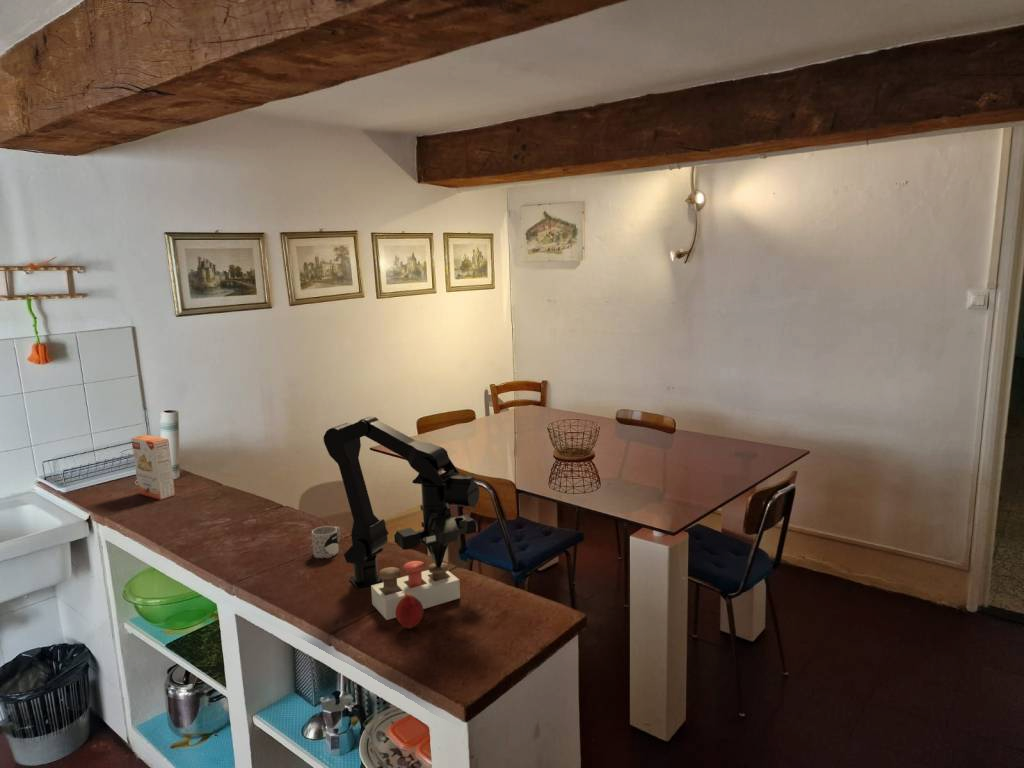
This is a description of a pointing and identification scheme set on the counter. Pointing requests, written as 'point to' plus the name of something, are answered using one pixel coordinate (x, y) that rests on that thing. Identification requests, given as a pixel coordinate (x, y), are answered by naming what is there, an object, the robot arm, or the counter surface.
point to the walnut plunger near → (389, 579)
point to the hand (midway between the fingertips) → (438, 566)
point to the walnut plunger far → (438, 571)
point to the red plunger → (414, 573)
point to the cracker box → (153, 466)
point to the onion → (409, 611)
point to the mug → (325, 541)
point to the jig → (416, 593)
